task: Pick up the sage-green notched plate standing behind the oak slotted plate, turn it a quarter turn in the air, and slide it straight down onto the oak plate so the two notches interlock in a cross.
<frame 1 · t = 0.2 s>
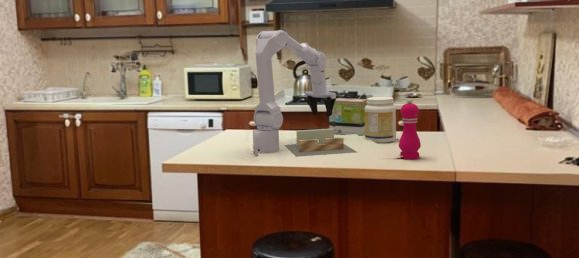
hand: (322, 115, 227), 10 cm above the countertop, tool pointing down, fingers open, 7 cm apart
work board: (319, 151, 208), on the countertop
tea box: (349, 133, 245), on the countertop
oak slotted plate: (321, 150, 204), resting on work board
supplement tub: (380, 141, 225), on the countertop
sage notched plate: (315, 145, 213), point 1 cm above the countertop, touching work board
pepper mill: (409, 158, 192), on the countertop
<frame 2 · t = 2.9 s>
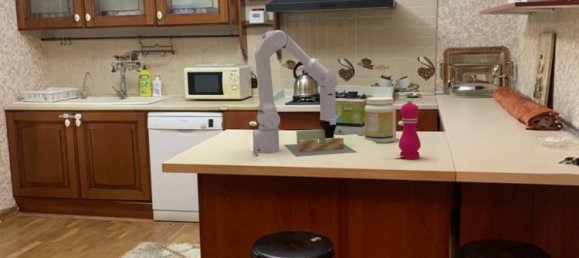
hand: (328, 141, 214), 2 cm above the countertop, tool pointing down, fingers closed on sage notched plate, 2 cm apart
sage notched plate: (315, 145, 213), point 1 cm above the countertop, touching gripper, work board
everything else where it was.
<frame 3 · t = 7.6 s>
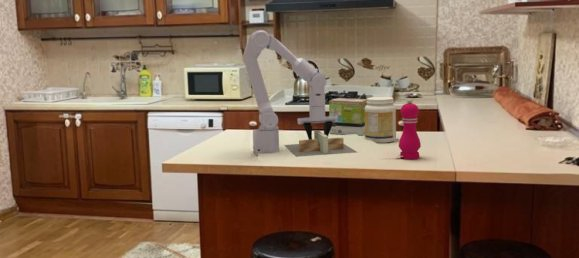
hand: (318, 142, 209), 3 cm above the countertop, tool pointing down, fingers open, 5 cm apart
sage notched plate: (321, 149, 205), point 1 cm above the countertop, touching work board
everything else where it was.
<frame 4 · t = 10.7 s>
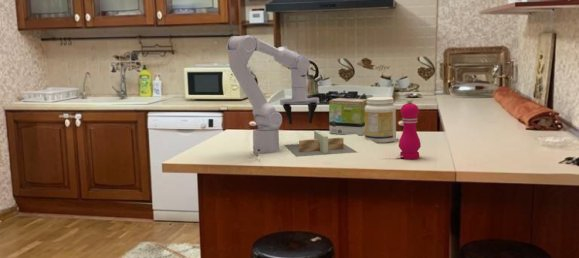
hand: (300, 123, 214), 9 cm above the countertop, tool pointing down, fingers open, 7 cm apart
nothing on the countertop moved.
at the end: sage notched plate 0.6 cm off-centre on the oak slotted plate, point 0.0 cm above the oak slotted plate's base; sage notched plate tilted 0°; the gripper is holding nothing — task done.
